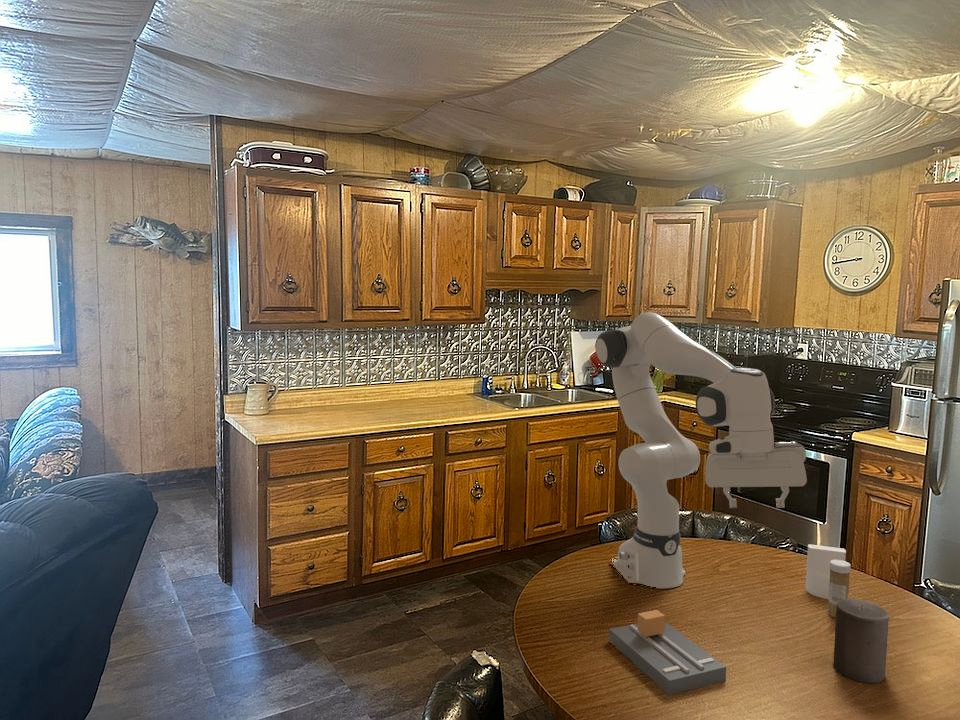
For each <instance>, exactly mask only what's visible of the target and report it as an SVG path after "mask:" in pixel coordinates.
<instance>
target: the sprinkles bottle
mask: <svg viewBox="0 0 960 720" xmlns="http://www.w3.org/2000/svg"><path fill="white" fill-rule="evenodd" d="M851 568H852V566H851V563H850V562H848V561H846V560H845V561H843V560H831V561H830V580H829V599H827V600H828V607H827V608H828V609H827V615H829V616H831V617H833V618H835V619H836V608H837V602H838V601H840V600H842V599H847V598H849V596H850V591H849V590H850V573H851Z"/></svg>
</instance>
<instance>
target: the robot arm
mask: <svg viewBox="0 0 960 720" xmlns="http://www.w3.org/2000/svg"><path fill="white" fill-rule="evenodd" d="M594 346H595V354H596V357H597V360H598V361H599V363H601V365H602V366H603V367H604V368H605V367H606V368H612V370H611V376H612V384H613V388H614V392H615V395H616V400H617V402H618V405H619V408H620V412H621V414H622V417H623V420H624V422H625V423H624V424H625V425H626V427H627V428H628V429H629V430H631V431H632V432H634V433H636V434H638V435H639V436H640V437H641V438H642V440H643V441H644V442H639V443H636V444H633V445H630V446H629V447H627V448H624V449H623V450H622V451H621V453H620V454H619V457H618V469H619V472H620V475H621V476H622V478H623V479H624V480H625V481H626V482H627V483H629V485H631V487H632V489H633V491H634V493H635V497H636V502H637V503H636V504H637V524H636V525H632V526H631V527H632V528H631V530H633V531H634V532H633V536H632V537H631V538H630V539H629V538H628V539H627V540H626V541H624V542H622V543H621V544H620V545H619V548H618V551H617V553H618V554H617V555H618V556H615V557H613V558H611V559H612V562H613V561H614V563H613V564H614V565H615V566H616V568H617V569H618V570H619V571H620V572H621V573H622V575H623V576H624V577H625V578H626V579H627V580H628V581H630V582H635V583H641V584H644V585H647V586H651V587H650V588H652V587H656V588H655V589H672V588H676V587H679V586H681V585H682V584H683V582H684V577H685V576H686V570H685V569H683V568H684V567H683V557H682V556H683V555H682V554H683V552H682V547H681V545H680V543H681V530H680V529H679V528H680V523H679V522H680V504H679V502H678V500H677V499H676V498H675V497H674V496H673V495H672V494H670V493H669V492H668V491H669V490H668V487H667V486H668V484H667V483H668V480H673V479H674V480H675V479H680V478H684V477H686V476H688V475H690V474H692V473H694V472H695V471H696V470H698V468H699V466H700V463H701V454H700V450H699V447H698V446H697V445H696V444H695V443H694V442H693V441H692V440H691V439H689V438H687V437H685V436H684V435H683V434H681V432H680V431H678V430H677V428H676V427H675V426H674V424H673V423H672V421H671V420H670V419H669V417H668V416H667V414H666V412H665V410H664V407H663V405H662V402H661V399H660V397H659V395H658V392H657V389H656V387H655V384H654V382H653V380H652V377H651V374H650V367H651V366H653V367H654V368H655V369H657V370H659V371H661V372H662V373H664V374H668V375H678V376H679V375H680V376H692V377H698V378H702V379H706V380H708V381H710V382H711V384H709V385H707V386H703V387H702V388H701V389H700V390H699V391H698V392H697V396H696V398H695V411H696V413H697V417H698V418H699V419H700V421H701V422H703V423H704V424H705V425H706V426H708V427H709V426H711V427H725V426H726V427H727V426H729V428H728V433H729V434H728V435H727V436H724V437H721V438H718V439H715V440H712V441H710V442H709V445H708V450H709V454H708V455H707V457H706V462H705V471H704V472H705V475H704V477H705V481H704V482H705V484H706V485H707V486H708V487H709V488H722V492H723V494H724V496H725V497H726V498H727V500H728V501H729V503H728V504H729V509H737V508H738V504H737V503H738V502H737V498H733V497H732V496H731V494H730V492H731V488H756V487H757V488H765V487H766V488H769V487H771V488H773V487H774V488H775V487H778V488H779V487H780V490H781V491H782V493H781V494H780V497H775V502H776V508H777V509H784V508H785V506H786V505H785V501H786V498H787V497H788V494H789V493H790V487H804V486H805V485H806V484H807V482H808V478H807V473H806V472H807V471H806V467H805V462H806V459H807V452H806V447H805V446H804V445H802V444H800V443H798V442H796V441H790V442H788V441H787V442H786V441H779V442H777V441H776V442H775V440H774V439H775V437H774V426H773V423H772V422H771V417H772V416H773V413H774V411H775V408H776V398H775V395H774V393H773V391H772V389H771V387H769V381H768V378H767V375H766V374H765V372H764V371H762V370H761V369H757V368H750V367H736V366H734V365H733V364H732V363H730V362H729V361H727V360H726V359H725V358H723V357H722V356H721V355H719V354H718V353H716V352H714V351H713V350H711V349H709V348H707V347H705V346H704V345H702V344H700V343H698V342H696V341H695V340H693V339H692V338H690V337H689V336H688V335H686V334H685V333H683V332H682V331H681V330H680V329H679V328H678V327H677V326H676V325H675V324H673V323H672V322H671V321H670V320H668V319H667V318H665V317H663V316H661V315H660V314H658V313H656V312H652V311H647V312H643V313H641V314H639V315H638V316H637V317H635V319H634V320H633V322H632V323H631V324H630V325H627V326H622V327H619V328H615V329H613V328H612V329H608V330H606V331H603V332H602V333H600V334H599V335H597V338H596V340H595V345H594ZM614 558H618V560H616V559H614ZM613 559H614V560H613ZM618 566H619V567H618ZM684 575H685V576H684ZM647 586H646V587H647Z"/></svg>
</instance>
